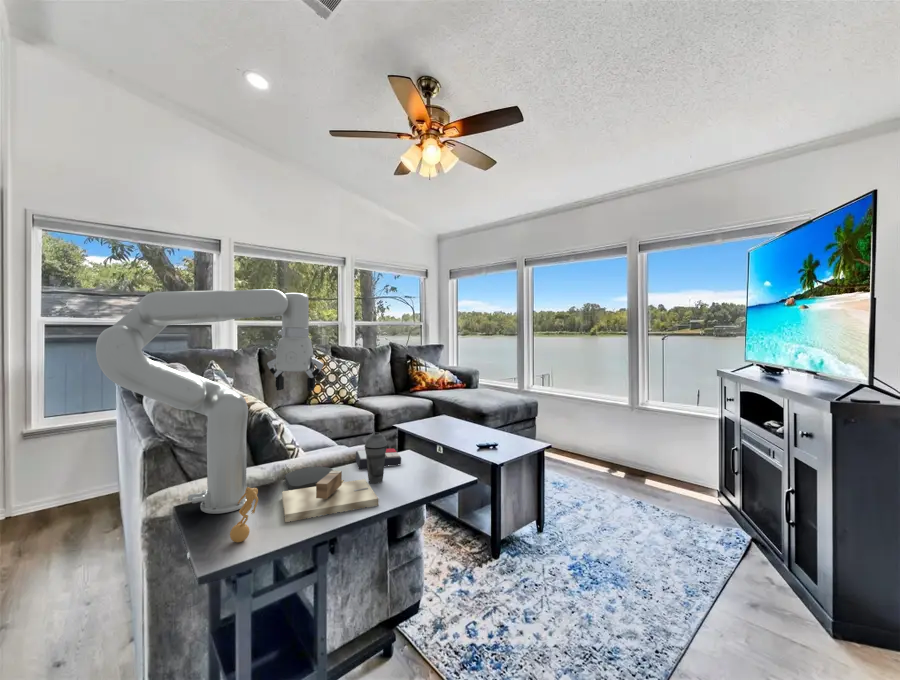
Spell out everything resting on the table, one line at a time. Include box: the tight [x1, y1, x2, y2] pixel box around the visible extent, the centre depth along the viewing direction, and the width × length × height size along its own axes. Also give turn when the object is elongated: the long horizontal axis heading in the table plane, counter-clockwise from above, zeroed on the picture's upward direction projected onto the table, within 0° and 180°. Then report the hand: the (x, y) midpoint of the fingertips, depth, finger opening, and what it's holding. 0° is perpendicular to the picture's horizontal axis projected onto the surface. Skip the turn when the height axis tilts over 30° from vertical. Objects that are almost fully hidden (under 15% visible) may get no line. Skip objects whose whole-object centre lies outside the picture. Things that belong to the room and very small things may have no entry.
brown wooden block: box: [316, 469, 343, 499], centre depth 113 cm, size 10×3×5 cm, turn 172°
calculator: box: [355, 448, 402, 470], centre depth 148 cm, size 11×4×15 cm
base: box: [281, 478, 379, 523], centre depth 114 cm, size 24×18×2 cm
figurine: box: [229, 486, 259, 543], centre depth 92 cm, size 8×6×12 cm
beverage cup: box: [363, 419, 388, 485], centre depth 129 cm, size 7×7×20 cm
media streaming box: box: [284, 466, 334, 491], centre depth 128 cm, size 15×15×3 cm
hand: (295, 390), depth 122 cm, fingers open, 9 cm apart
